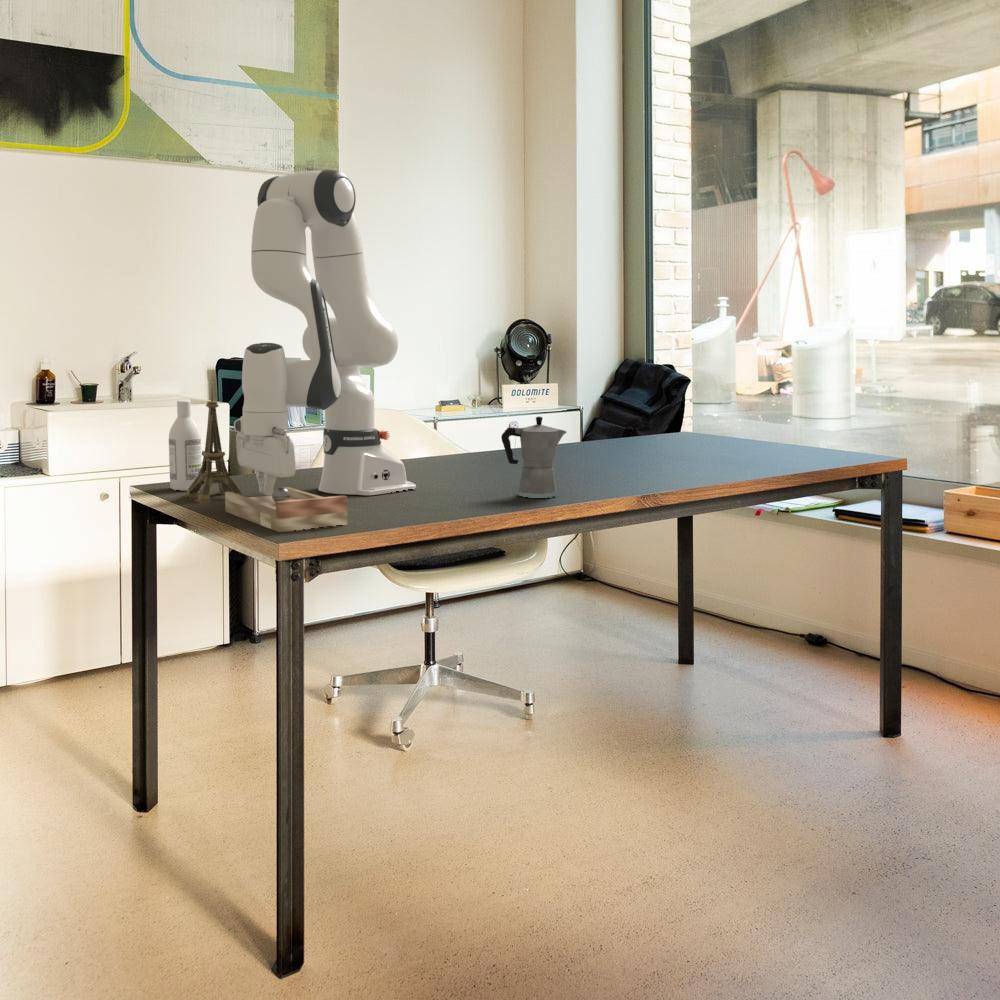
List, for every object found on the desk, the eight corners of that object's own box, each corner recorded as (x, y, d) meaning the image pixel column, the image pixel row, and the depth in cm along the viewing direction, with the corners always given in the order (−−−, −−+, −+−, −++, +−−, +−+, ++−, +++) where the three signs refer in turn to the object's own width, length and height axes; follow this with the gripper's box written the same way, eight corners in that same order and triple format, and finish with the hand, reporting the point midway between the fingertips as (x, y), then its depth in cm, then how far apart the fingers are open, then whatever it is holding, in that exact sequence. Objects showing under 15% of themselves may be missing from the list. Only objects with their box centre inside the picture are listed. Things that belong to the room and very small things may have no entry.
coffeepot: (556, 491, 253) (558, 414, 251) (572, 498, 245) (574, 418, 242) (493, 493, 249) (495, 415, 246) (507, 500, 240) (508, 418, 237)
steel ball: (285, 502, 216) (285, 485, 216) (293, 505, 214) (293, 487, 213) (269, 503, 214) (268, 486, 214) (276, 506, 211) (276, 488, 211)
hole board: (289, 505, 227) (288, 479, 226) (347, 525, 207) (347, 496, 206) (225, 511, 219) (224, 484, 218) (279, 532, 199) (279, 502, 198)
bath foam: (206, 487, 250) (203, 400, 247) (196, 491, 243) (194, 402, 240) (176, 486, 250) (173, 399, 247) (165, 491, 243) (163, 401, 240)
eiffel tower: (198, 503, 229) (195, 384, 225) (182, 496, 237) (179, 381, 233) (246, 499, 235) (244, 383, 231) (229, 492, 243) (226, 380, 239)
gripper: (303, 429, 210) (304, 500, 213) (259, 420, 226) (260, 486, 229) (273, 431, 207) (274, 502, 209) (230, 421, 223) (231, 488, 225)
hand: (266, 494), depth 219 cm, fingers closed
